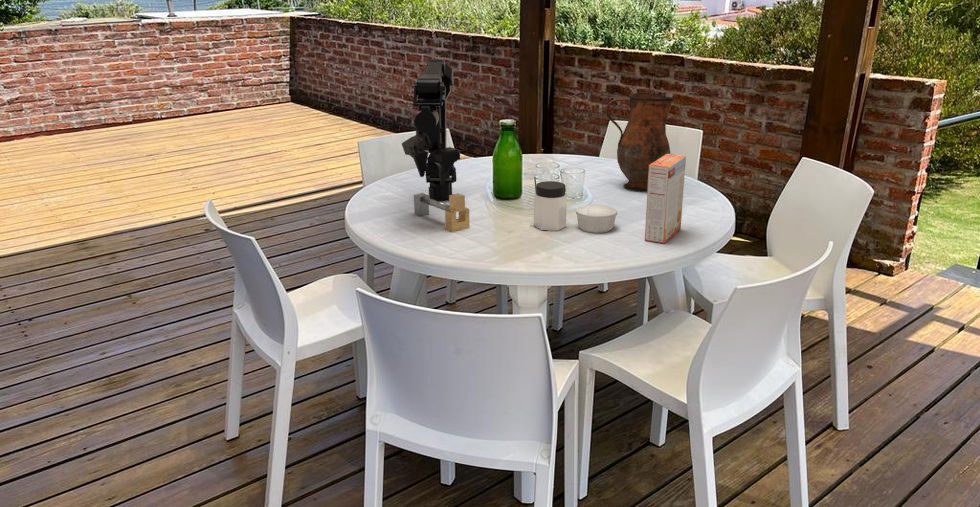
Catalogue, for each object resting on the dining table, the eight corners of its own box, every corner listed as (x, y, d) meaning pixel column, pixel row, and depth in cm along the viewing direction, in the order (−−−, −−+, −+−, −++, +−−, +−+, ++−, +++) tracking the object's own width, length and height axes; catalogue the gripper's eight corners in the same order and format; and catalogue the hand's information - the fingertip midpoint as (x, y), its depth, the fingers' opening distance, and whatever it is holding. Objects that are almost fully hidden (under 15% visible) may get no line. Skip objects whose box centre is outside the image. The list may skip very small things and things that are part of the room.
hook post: (423, 213, 230) (422, 192, 228) (454, 225, 219) (453, 203, 217) (411, 216, 227) (410, 194, 225) (441, 228, 217) (440, 206, 214)
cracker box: (660, 226, 218) (666, 152, 211) (681, 229, 215) (687, 155, 208) (642, 240, 207) (647, 163, 200) (664, 244, 204) (670, 166, 197)
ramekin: (568, 224, 220) (568, 206, 218) (602, 219, 224) (603, 202, 222) (588, 236, 210) (589, 218, 208) (623, 231, 214) (624, 213, 213)
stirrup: (462, 225, 217) (462, 192, 214) (469, 228, 215) (469, 194, 212) (445, 230, 214) (444, 196, 210) (452, 233, 212) (451, 198, 208)
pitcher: (671, 194, 247) (679, 99, 237) (604, 194, 248) (609, 99, 238) (662, 181, 263) (669, 91, 252) (599, 180, 264) (603, 91, 253)
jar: (570, 229, 216) (572, 187, 212) (545, 233, 213) (546, 190, 209) (554, 220, 224) (555, 179, 219) (529, 224, 220) (529, 182, 216)
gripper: (386, 123, 213) (388, 178, 219) (427, 135, 200) (429, 193, 206) (418, 117, 220) (420, 171, 226) (461, 128, 207) (462, 185, 213)
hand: (432, 180), depth 218 cm, fingers open, 9 cm apart
